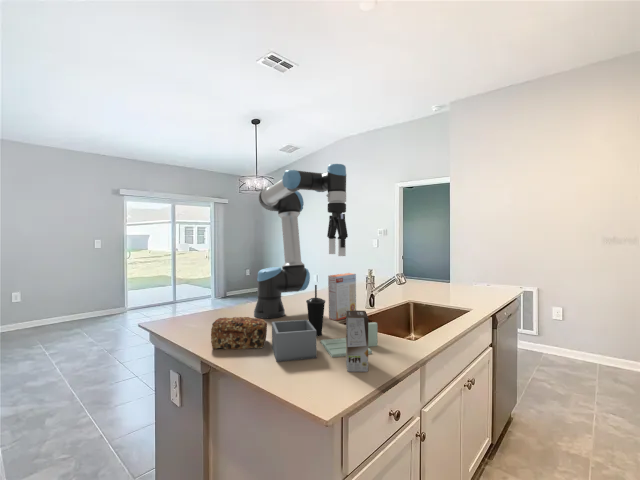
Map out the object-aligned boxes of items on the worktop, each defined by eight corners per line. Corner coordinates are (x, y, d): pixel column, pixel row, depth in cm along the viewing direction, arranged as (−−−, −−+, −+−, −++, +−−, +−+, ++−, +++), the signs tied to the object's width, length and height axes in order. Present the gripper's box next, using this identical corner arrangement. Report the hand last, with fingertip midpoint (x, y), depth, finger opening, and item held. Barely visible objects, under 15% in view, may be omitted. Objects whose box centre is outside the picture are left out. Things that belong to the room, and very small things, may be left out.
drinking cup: (323, 338, 126) (323, 286, 126) (304, 337, 128) (304, 286, 127) (327, 332, 134) (326, 283, 133) (308, 331, 135) (308, 283, 135)
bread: (210, 350, 114) (209, 321, 113) (218, 340, 124) (218, 314, 124) (264, 349, 114) (264, 321, 114) (267, 340, 125) (267, 314, 125)
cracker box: (347, 313, 165) (347, 272, 165) (356, 316, 161) (356, 273, 161) (327, 318, 156) (327, 274, 156) (336, 321, 151) (336, 276, 151)
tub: (271, 347, 117) (271, 321, 116) (307, 344, 120) (307, 319, 120) (276, 361, 103) (276, 333, 103) (316, 358, 106) (316, 330, 106)
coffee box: (369, 372, 95) (369, 317, 95) (347, 372, 96) (347, 317, 95) (365, 360, 104) (365, 310, 104) (345, 359, 105) (345, 309, 104)
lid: (320, 342, 122) (320, 321, 121) (368, 338, 126) (368, 317, 126) (331, 357, 107) (331, 333, 107) (385, 352, 112) (385, 328, 111)
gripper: (320, 205, 144) (320, 253, 145) (336, 199, 120) (336, 257, 120) (336, 205, 146) (336, 253, 146) (356, 200, 122) (356, 256, 122)
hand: (336, 255), depth 133 cm, fingers open, 13 cm apart
